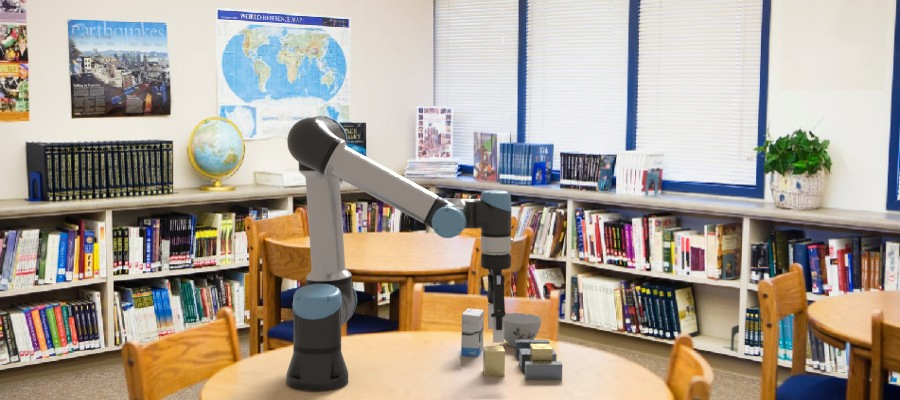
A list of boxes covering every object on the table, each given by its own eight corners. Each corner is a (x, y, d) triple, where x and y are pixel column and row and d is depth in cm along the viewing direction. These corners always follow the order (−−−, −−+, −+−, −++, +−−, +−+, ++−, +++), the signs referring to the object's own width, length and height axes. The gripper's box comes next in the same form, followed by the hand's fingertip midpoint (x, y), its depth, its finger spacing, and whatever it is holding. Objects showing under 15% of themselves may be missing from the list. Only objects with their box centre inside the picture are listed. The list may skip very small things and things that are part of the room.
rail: (526, 382, 246) (526, 364, 245) (514, 355, 270) (515, 339, 269) (561, 382, 246) (562, 364, 246) (547, 355, 270) (548, 339, 270)
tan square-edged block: (484, 378, 249) (485, 351, 248) (482, 372, 254) (483, 345, 253) (504, 378, 249) (505, 351, 248) (502, 372, 254) (502, 345, 253)
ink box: (478, 358, 267) (479, 315, 265) (460, 357, 268) (461, 314, 266) (483, 350, 275) (484, 308, 273) (466, 349, 276) (466, 307, 274)
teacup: (542, 350, 275) (543, 322, 274) (497, 350, 275) (498, 322, 274) (537, 336, 290) (538, 310, 289) (495, 336, 290) (495, 309, 289)
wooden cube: (532, 376, 250) (532, 348, 249) (529, 370, 254) (530, 343, 254) (551, 376, 250) (552, 348, 249) (548, 370, 255) (549, 343, 254)
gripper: (516, 260, 236) (516, 348, 238) (505, 244, 260) (505, 323, 263) (485, 261, 235) (485, 348, 238) (477, 244, 260) (477, 323, 262)
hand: (495, 335), depth 250 cm, fingers open, 13 cm apart
